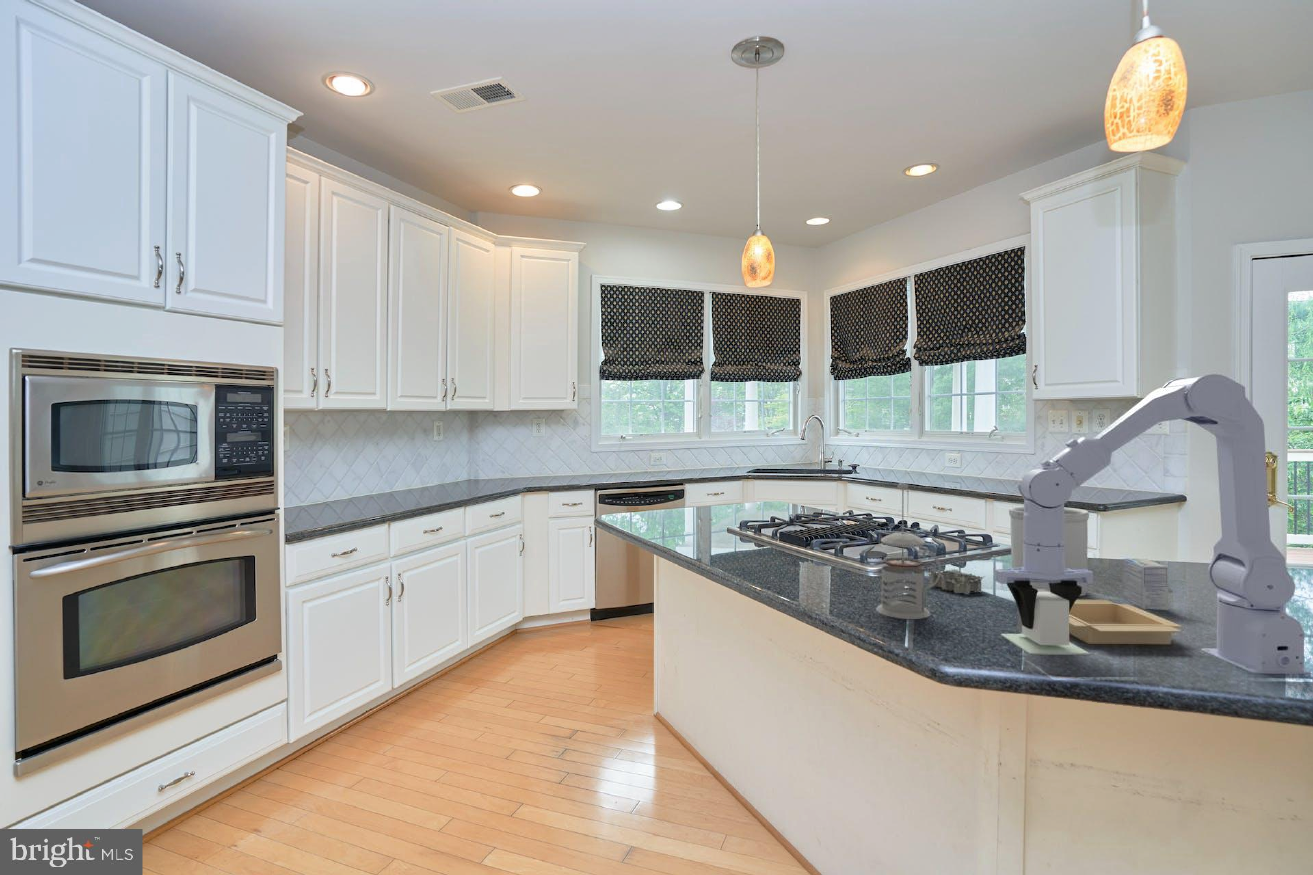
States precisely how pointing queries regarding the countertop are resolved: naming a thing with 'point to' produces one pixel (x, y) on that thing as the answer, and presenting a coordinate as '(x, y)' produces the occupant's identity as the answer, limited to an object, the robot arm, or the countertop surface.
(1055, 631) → the grey box
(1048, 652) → the mat
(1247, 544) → the robot arm
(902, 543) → the french press
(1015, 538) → the utensil holder
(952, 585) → the egg carton
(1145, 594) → the medicine box
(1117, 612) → the tan flat tray
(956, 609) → the countertop surface
